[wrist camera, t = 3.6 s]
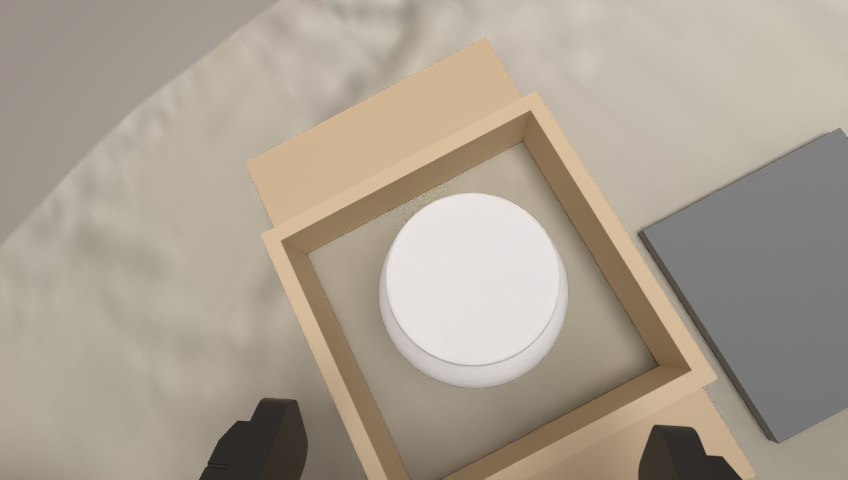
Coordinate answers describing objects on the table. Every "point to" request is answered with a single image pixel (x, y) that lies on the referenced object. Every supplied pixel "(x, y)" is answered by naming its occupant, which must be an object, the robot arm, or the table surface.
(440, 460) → the table surface
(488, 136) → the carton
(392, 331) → the supplement bottle
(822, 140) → the coaster
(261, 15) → the table surface
